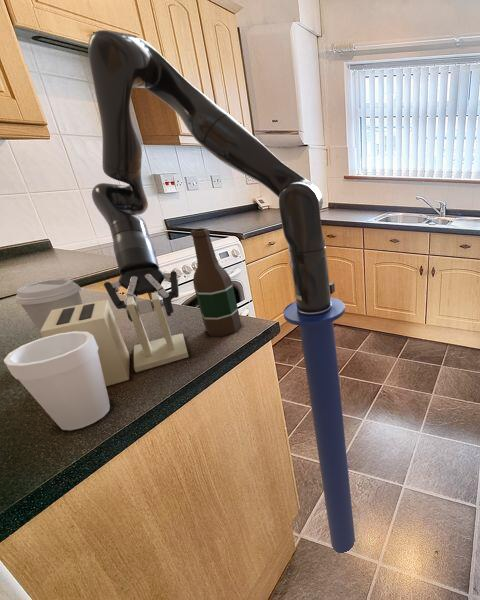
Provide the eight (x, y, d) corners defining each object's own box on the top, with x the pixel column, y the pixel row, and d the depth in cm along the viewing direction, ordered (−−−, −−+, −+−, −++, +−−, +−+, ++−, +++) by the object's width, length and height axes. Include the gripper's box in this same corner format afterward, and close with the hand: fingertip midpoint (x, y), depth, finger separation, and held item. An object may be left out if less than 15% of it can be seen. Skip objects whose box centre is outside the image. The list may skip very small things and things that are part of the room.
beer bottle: (227, 319, 86) (204, 224, 76) (248, 325, 82) (227, 227, 73) (198, 332, 79) (169, 231, 69) (221, 340, 76) (194, 235, 66)
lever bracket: (135, 350, 72) (114, 295, 67) (183, 337, 77) (167, 285, 72) (135, 372, 65) (112, 313, 60) (188, 357, 70) (171, 301, 65)
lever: (136, 313, 75) (133, 303, 75) (165, 307, 78) (162, 297, 78) (129, 316, 64) (125, 304, 64) (163, 309, 67) (159, 297, 67)
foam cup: (116, 389, 60) (88, 325, 55) (127, 414, 55) (97, 345, 49) (43, 416, 54) (4, 348, 49) (46, 448, 48) (2, 374, 43)
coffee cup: (112, 344, 75) (86, 281, 69) (57, 366, 67) (22, 297, 61) (91, 334, 79) (64, 274, 73) (36, 354, 71) (2, 289, 65)
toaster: (79, 369, 66) (50, 309, 61) (129, 355, 70) (107, 298, 65) (72, 396, 59) (39, 330, 53) (129, 379, 63) (103, 317, 58)
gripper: (91, 251, 73) (107, 320, 68) (169, 241, 80) (188, 303, 76) (102, 268, 79) (117, 333, 74) (173, 258, 86) (191, 316, 82)
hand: (152, 317), depth 75 cm, fingers closed on lever, 5 cm apart
